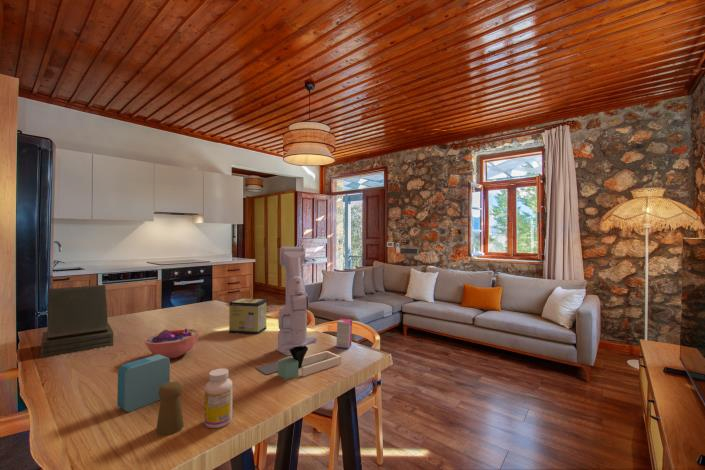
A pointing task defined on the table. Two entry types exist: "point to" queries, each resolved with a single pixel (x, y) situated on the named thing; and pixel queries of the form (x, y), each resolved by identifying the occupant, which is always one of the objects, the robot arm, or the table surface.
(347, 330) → the supplement box
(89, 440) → the table surface
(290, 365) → the block
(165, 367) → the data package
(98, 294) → the dark stepped-base plaque
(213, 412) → the supplement bottle
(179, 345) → the cell model
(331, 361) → the frame
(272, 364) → the mat
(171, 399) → the brown pepper mill
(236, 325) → the protein box
